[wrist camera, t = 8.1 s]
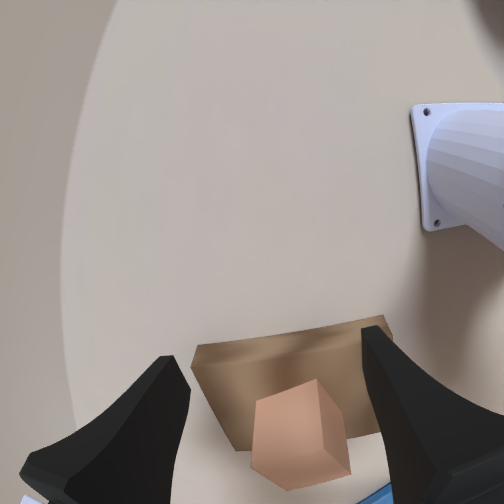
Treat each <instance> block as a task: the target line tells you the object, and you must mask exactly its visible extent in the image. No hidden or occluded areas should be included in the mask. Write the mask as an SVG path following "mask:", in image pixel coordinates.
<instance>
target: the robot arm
mask: <svg viewBox="0 0 504 504" xmlns="http://www.w3.org/2000/svg"><path fill="white" fill-rule="evenodd" d="M424 109H426V110H427V111H428V115H427V116H425V115H424V113H423V110H424ZM410 114H411V119H412V125H413V132H414V138H415V146H416V153H417V162H418V171H419V181H420V193H421V209H422V225H423V228H424V229H425V230H426V231H428V232H432V231H436V230H441V229H446V228H451V227H456V226H461V225H465V224H466V225H468V226H469V227H471V228H472V229H474V230H475V231H476V232H478V233H479V234H481V235H482V236H484V237H485V238H486V239H488V240H489V241H490V242H492V243H493V244H495V245H496V246H497V247H499V248H500V249H501V250H503V251H504V103H438V104H419V105H414V106H412V107H411V110H410ZM437 219H438V223H437V224H436V225H434V222H435V220H437ZM361 345H362V369H363V374H364V379H365V383H366V388H367V392H368V395H369V398H370V401H371V404H372V407H373V410H374V413H375V416H376V419H377V422H378V425H379V428H380V431H381V434H382V437H383V441H384V445H385V450H386V455H387V461H388V467H389V473H390V480H391V487H392V496H393V504H504V416H503V415H500V414H497V413H494V412H492V411H490V410H487V409H485V408H483V407H480V406H478V405H476V404H474V403H472V402H470V401H469V400H467V399H465V398H463V397H461V396H459V395H457V394H456V393H454V392H453V391H451V390H449V389H448V388H446V387H445V386H443V385H442V384H441V383H439V382H438V381H436V380H435V379H434V378H432V377H431V376H430V375H429V374H427V373H426V372H425V371H424V370H423V369H421V368H420V367H419V366H418V365H417V364H416V363H414V362H413V361H412V360H411V359H410V358H409V357H408V356H407V355H406V354H405V353H404V352H403V351H402V350H401V349H400V348H399V347H398V346H397V345H396V344H395V343H394V342H393V341H392V340H391V339H390V338H389V337H388V336H387V335H386V334H385V332H384V331H383V330H382V329H381V328H380V327H379V326H378V325H374V326H370V327H365V328H361ZM190 393H191V389H190V387H189V385H188V383H187V381H186V379H185V377H184V376H183V374H182V372H181V370H180V368H179V366H178V364H177V362H176V360H175V358H174V356H173V355H170V356H160V357H159V358H158V359H156V360H155V361H154V362H153V363H152V364H151V366H150V367H149V368H148V369H147V370H146V371H145V372H144V373H143V374H142V375H141V376H140V377H139V378H138V379H137V380H136V381H135V382H134V383H133V384H132V385H131V387H130V388H129V389H128V390H127V391H126V392H125V393H124V394H122V395H121V396H120V397H119V398H118V399H117V400H116V401H115V402H114V403H113V404H112V405H111V406H110V407H109V408H108V409H106V410H105V411H104V412H103V413H102V414H100V415H99V416H98V417H96V418H95V419H94V420H93V421H91V422H90V423H88V424H87V425H85V426H84V427H82V428H81V429H79V430H78V431H76V432H75V433H73V434H71V435H70V436H68V437H66V438H64V439H62V440H60V441H58V442H57V443H54V444H52V445H50V446H47V447H45V448H42V449H40V450H38V451H35V452H32V453H30V454H29V456H28V458H27V460H26V462H25V464H24V466H23V467H22V469H21V471H20V473H19V475H20V477H21V478H22V480H23V481H24V482H25V483H27V484H28V485H29V486H30V487H31V488H33V489H34V490H35V491H37V492H38V493H39V494H41V495H42V496H43V497H45V498H46V499H47V500H49V503H48V504H170V498H171V487H172V478H173V470H174V464H175V459H176V454H177V451H178V447H179V444H180V440H181V436H182V433H183V429H184V426H185V422H186V418H187V414H188V410H189V403H190ZM20 504H44V503H42V502H40V501H38V500H36V499H34V498H32V497H30V496H28V495H24V497H23V499H22V501H21V503H20Z"/></svg>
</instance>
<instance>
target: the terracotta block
mask: <svg viewBox="0 0 504 504" xmlns="http://www.w3.org/2000/svg"><path fill="white" fill-rule="evenodd" d="M251 468H252V469H253V470H255V471H256V472H258V473H260V474H261V475H263V476H264V477H266V478H267V479H269V480H270V481H272V482H274V483H275V484H277V485H278V486H280V487H282V488H283V489H285V490H287V491H288V490H293V489H298V488H302V487H307V486H311V485H315V484H319V483H323V482H326V481H330V480H334V479H337V478H341V477H344V476H347V475H351V469H350V461H349V454H348V447H347V441H346V434H345V428H344V421H343V415H342V411H341V410H340V409H339V408H338V406H337V405H336V404H335V402H334V401H333V400H332V398H331V397H330V396H329V394H328V393H327V392H326V390H325V389H324V388H323V387H322V385H321V384H320V383H319V381H318V380H317V379H314V380H312V381H309V382H307V383H304V384H302V385H299V386H296V387H294V388H291V389H288V390H286V391H283V392H280V393H277V394H275V395H272V396H269V397H266V398H263V399H260V400H257V401H256V409H255V421H254V433H253V445H252V456H251Z"/></svg>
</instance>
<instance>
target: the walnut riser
mask: <svg viewBox="0 0 504 504" xmlns="http://www.w3.org/2000/svg"><path fill="white" fill-rule="evenodd" d="M374 325H378V326H379V327H380V328H381V329H382V330H383V331H384V332H385V334H386V335H387V336H388V337H389V338H390V339H391V340H392V341H393V335H392V333H391V331H390V329H389V326H388V324H387V322H386V320H385V318H384V316H383V315H380V316H375V317H371V318H366V319H361V320H357V321H352V322H347V323H342V324H337V325H332V326H326V327H321V328H316V329H310V330H304V331H298V332H292V333H286V334H280V335H274V336H267V337H260V338H253V339H246V340H238V341H230V342H222V343H213V344H204V345H198V346H197V349H196V352H195V355H194V358H193V361H192V364H191V369H192V371H193V373H194V375H195V377H196V379H197V381H198V383H199V385H200V387H201V389H202V391H203V393H204V395H205V397H206V399H207V401H208V403H209V405H210V406H211V408H212V410H213V412H214V414H215V416H216V418H217V419H218V421H219V423H220V425H221V427H222V428H223V430H224V432H225V434H226V435H227V437H228V439H229V441H230V442H231V444H232V446H233V448H234V449H235V451H252V445H253V433H254V421H255V409H256V401H257V400H260V399H263V398H266V397H269V396H272V395H275V394H277V393H280V392H283V391H286V390H288V389H291V388H294V387H296V386H299V385H302V384H304V383H307V382H309V381H312V380H314V379H317V380H318V381H319V383H320V384H321V385H322V387H323V388H324V389H325V390H326V392H327V393H328V394H329V396H330V397H331V398H332V400H333V401H334V402H335V404H336V405H337V406H338V408H339V409H340V410H341V411H342V415H343V421H344V428H345V434H346V439H350V438H355V437H360V436H365V435H369V434H374V433H378V432H381V431H380V428H379V425H378V422H377V419H376V416H375V413H374V410H373V407H372V404H371V401H370V398H369V395H368V392H367V388H366V383H365V379H364V374H363V369H362V345H361V328H365V327H370V326H374Z"/></svg>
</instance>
